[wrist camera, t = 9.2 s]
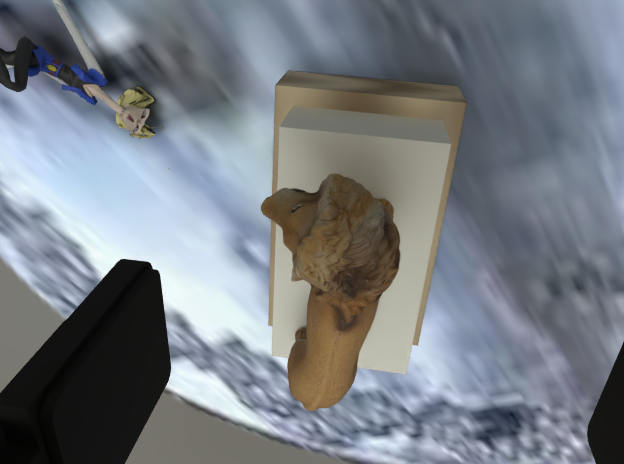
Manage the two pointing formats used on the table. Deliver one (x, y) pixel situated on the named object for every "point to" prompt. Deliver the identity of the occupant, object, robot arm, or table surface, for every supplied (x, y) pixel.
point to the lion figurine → (334, 279)
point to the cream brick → (381, 184)
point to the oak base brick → (378, 100)
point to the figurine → (75, 77)
